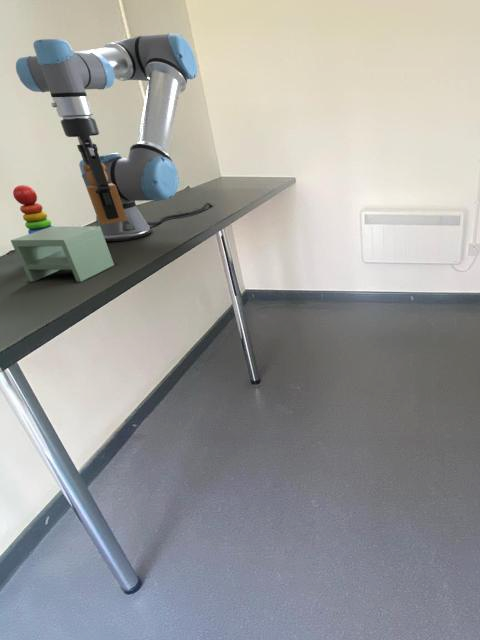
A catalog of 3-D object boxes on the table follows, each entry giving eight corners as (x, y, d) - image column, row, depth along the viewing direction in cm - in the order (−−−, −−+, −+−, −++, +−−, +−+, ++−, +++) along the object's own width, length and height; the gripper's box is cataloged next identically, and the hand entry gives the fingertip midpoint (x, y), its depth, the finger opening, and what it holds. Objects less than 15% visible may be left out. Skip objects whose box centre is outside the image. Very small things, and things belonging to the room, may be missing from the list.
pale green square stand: (67, 265, 129) (50, 226, 124) (114, 265, 127) (100, 226, 122) (29, 281, 118) (10, 240, 113) (81, 281, 116) (63, 239, 111)
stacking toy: (63, 250, 142) (34, 181, 132) (73, 254, 138) (44, 183, 128) (33, 257, 137) (0, 186, 127) (43, 261, 133) (10, 188, 123)
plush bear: (98, 221, 132) (77, 164, 124) (124, 217, 135) (105, 161, 127) (101, 224, 128) (80, 166, 120) (127, 220, 131) (108, 163, 123)
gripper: (56, 118, 123) (91, 213, 136) (62, 119, 110) (101, 224, 123) (89, 116, 126) (120, 209, 139) (99, 117, 114) (132, 219, 126)
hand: (111, 216), depth 131 cm, fingers closed on plush bear, 5 cm apart
